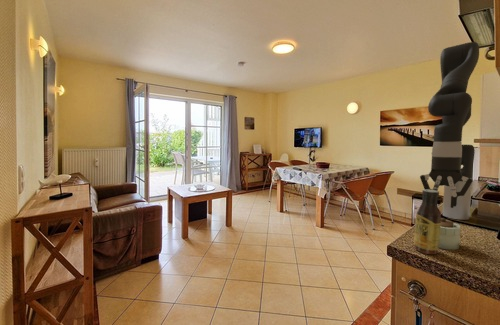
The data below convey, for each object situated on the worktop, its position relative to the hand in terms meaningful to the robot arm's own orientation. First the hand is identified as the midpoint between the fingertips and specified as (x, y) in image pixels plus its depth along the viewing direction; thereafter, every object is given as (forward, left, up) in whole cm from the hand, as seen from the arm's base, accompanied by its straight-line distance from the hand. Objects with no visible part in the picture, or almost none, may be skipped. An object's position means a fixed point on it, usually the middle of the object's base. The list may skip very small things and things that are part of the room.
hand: (443, 206), depth 78 cm
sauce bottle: (+10, -3, -13) cm, 17 cm away
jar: (0, 0, -13) cm, 13 cm away
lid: (0, 0, -8) cm, 8 cm away
